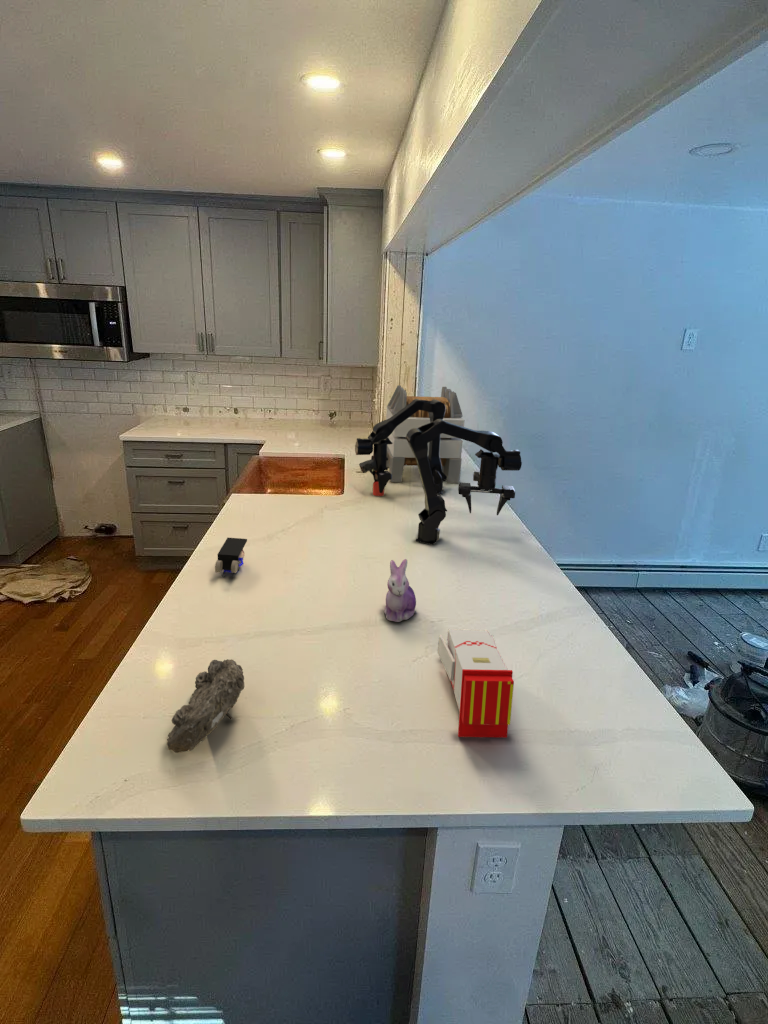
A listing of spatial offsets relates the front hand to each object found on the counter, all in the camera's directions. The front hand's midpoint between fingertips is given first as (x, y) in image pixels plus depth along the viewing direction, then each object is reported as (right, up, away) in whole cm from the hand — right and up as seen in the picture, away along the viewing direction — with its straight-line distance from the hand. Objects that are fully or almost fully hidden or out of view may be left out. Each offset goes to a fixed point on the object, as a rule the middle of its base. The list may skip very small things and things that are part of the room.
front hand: (483, 513), depth 195 cm
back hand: (-37, +10, +46) cm, 59 cm away
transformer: (-17, +19, +80) cm, 84 cm away
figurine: (-30, -26, -47) cm, 62 cm away
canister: (-37, +8, +46) cm, 60 cm away
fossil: (-67, -38, -87) cm, 116 cm away
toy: (-16, -37, -76) cm, 86 cm away
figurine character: (-79, -16, -27) cm, 85 cm away
